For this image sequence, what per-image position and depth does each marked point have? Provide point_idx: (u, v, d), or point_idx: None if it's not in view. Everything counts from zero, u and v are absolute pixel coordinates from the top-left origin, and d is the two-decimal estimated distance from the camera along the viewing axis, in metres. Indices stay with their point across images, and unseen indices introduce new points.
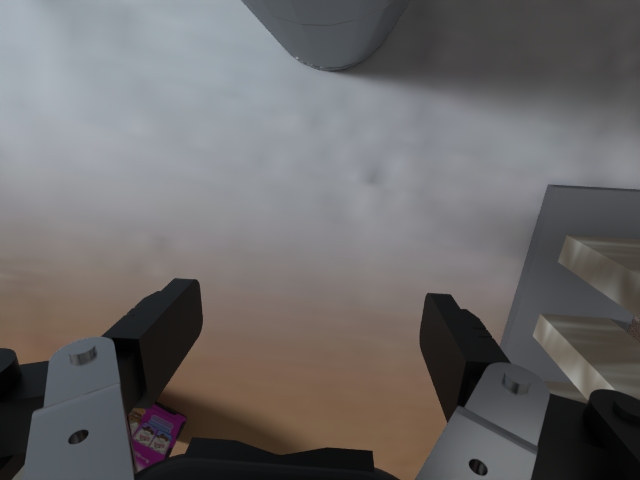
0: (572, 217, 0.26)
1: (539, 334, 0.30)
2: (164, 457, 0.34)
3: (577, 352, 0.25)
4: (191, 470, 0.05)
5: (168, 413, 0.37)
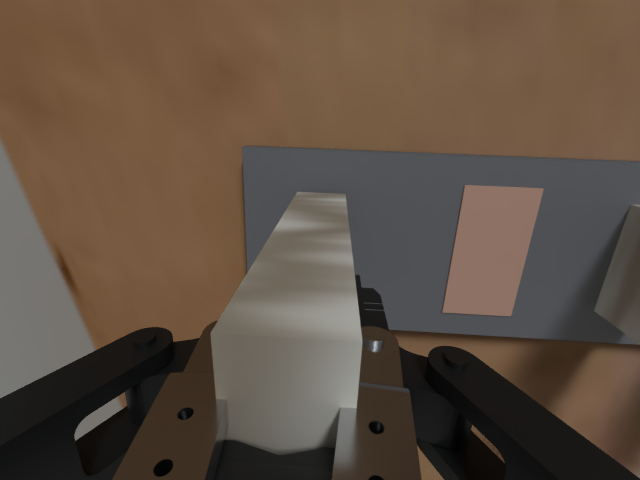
0: None
1: None
2: None
3: None
4: None
5: None
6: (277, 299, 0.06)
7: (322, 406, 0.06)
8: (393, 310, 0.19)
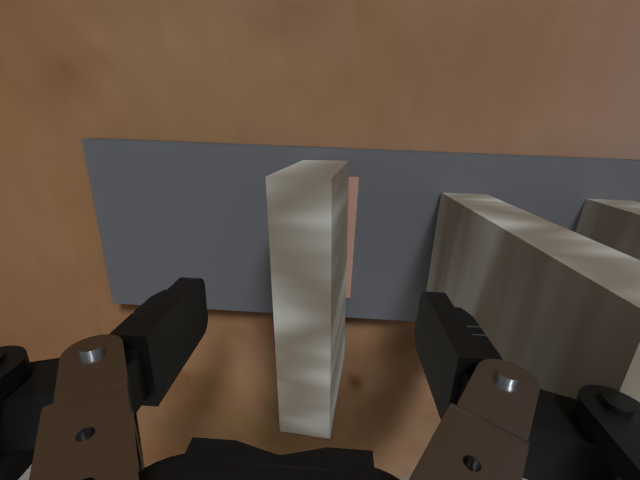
0: None
1: None
2: None
3: None
4: (191, 470, 0.05)
5: None
6: (297, 414, 0.15)
7: None
8: (243, 292, 0.20)
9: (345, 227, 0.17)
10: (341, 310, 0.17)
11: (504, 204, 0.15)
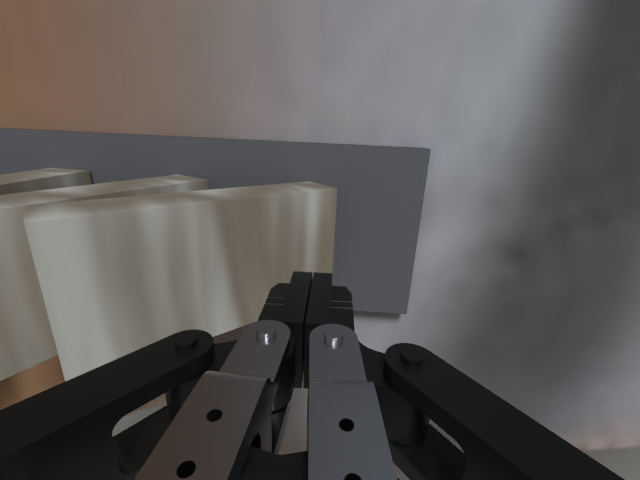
0: (382, 184, 0.18)
1: (174, 177, 0.18)
2: None
3: (106, 193, 0.14)
4: None
5: None
6: None
7: None
8: None
9: None
10: None
11: None
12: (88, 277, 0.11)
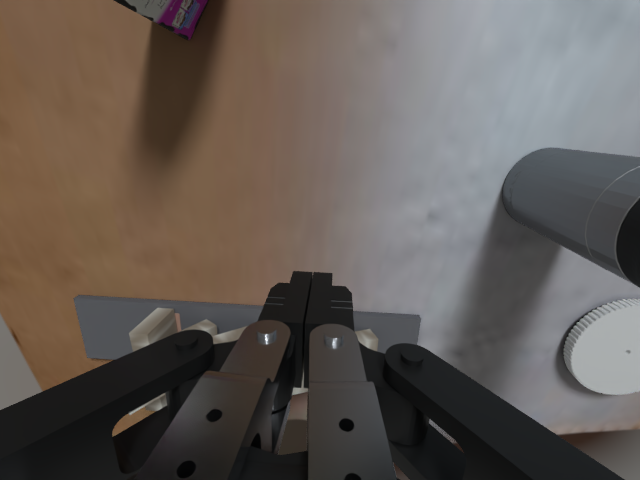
0: (401, 330, 0.45)
1: None
2: (169, 25, 0.32)
3: None
4: None
5: (197, 20, 0.35)
6: (150, 403, 0.44)
7: None
8: None
9: (173, 333, 0.46)
10: None
11: None
12: None
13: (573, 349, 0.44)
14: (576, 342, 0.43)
